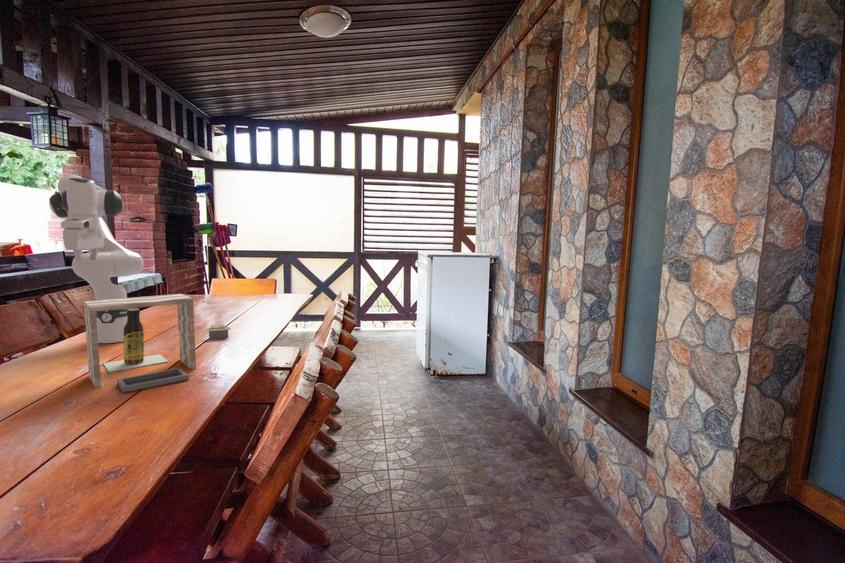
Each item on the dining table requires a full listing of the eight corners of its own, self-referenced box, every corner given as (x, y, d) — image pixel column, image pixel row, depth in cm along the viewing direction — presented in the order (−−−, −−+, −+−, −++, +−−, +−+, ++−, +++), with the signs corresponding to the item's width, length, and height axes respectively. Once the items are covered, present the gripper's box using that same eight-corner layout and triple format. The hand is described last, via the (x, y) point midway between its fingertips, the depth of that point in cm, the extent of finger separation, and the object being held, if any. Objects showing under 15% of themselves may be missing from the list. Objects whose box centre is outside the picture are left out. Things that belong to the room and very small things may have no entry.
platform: (197, 337, 199) (197, 323, 198) (239, 334, 206) (239, 321, 206) (195, 343, 188) (195, 329, 187) (240, 340, 196) (240, 326, 195)
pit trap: (117, 384, 137) (116, 379, 137) (179, 372, 149) (179, 367, 149) (123, 393, 130) (122, 387, 130) (188, 380, 142) (188, 374, 142)
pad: (103, 364, 157) (103, 363, 157) (159, 355, 169) (159, 354, 169) (109, 372, 148) (108, 371, 148) (167, 362, 161) (167, 361, 161)
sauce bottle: (128, 366, 154) (124, 311, 152) (121, 362, 158) (118, 309, 155) (148, 362, 159) (145, 309, 157) (141, 358, 163) (138, 307, 161)
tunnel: (89, 376, 144) (83, 301, 141) (184, 359, 164) (181, 293, 161) (95, 387, 134) (89, 307, 131) (196, 368, 154) (193, 298, 151)
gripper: (88, 223, 165) (91, 259, 166) (57, 222, 145) (61, 263, 147) (107, 224, 166) (109, 259, 168) (79, 223, 147) (82, 263, 148)
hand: (86, 261), depth 157 cm, fingers open, 8 cm apart
